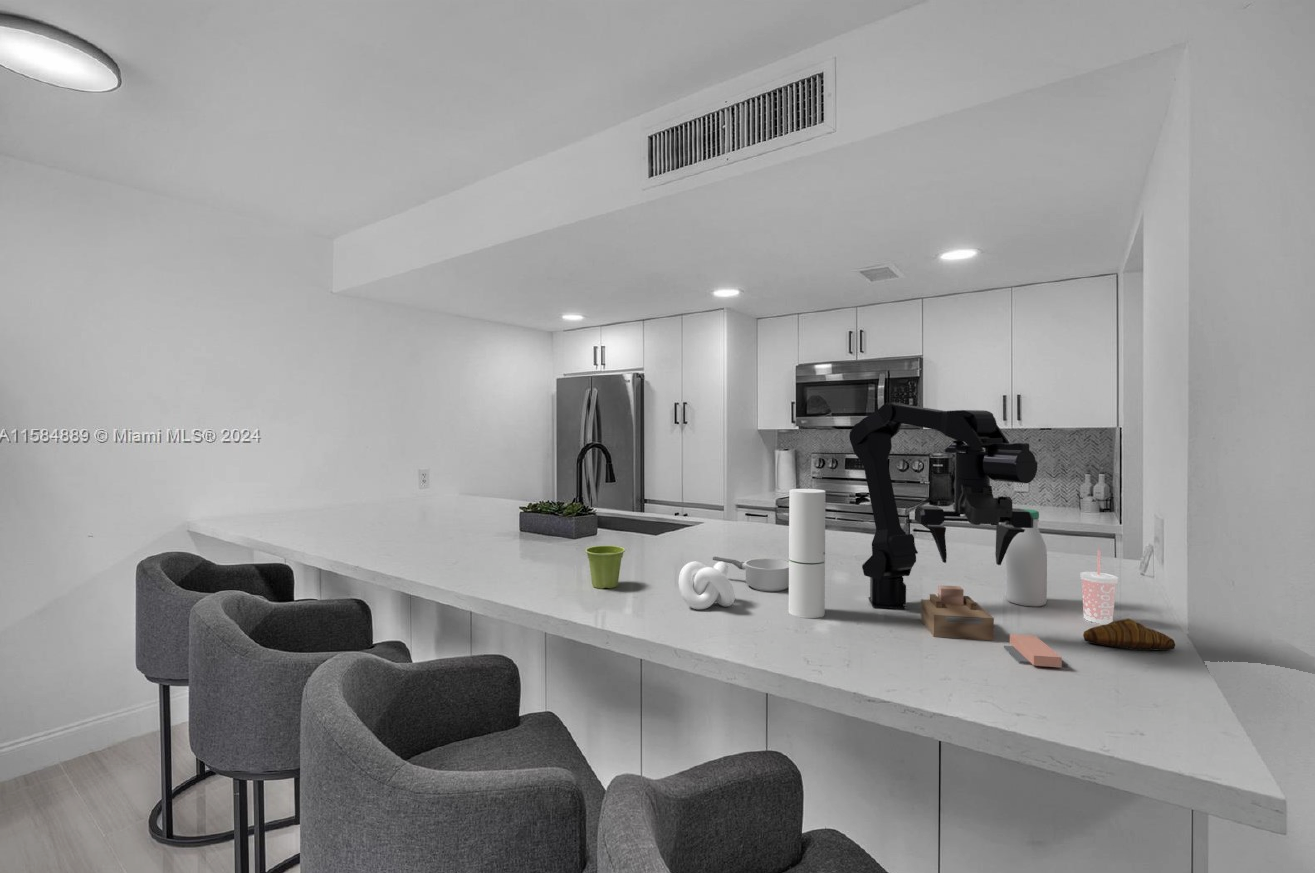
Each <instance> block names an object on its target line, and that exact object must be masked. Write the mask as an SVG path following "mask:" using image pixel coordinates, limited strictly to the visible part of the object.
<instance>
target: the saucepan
mask: <svg viewBox="0 0 1315 873" xmlns="http://www.w3.org/2000/svg"><path fill="white" fill-rule="evenodd" d="M712 560H713V561H716V562H720V561H723V562H725V563H726V564H732V565H734V566H735V567H736V568H737V569H739V570H745V584H746V585H747V586H750V587H751V588H752V589H754V590H758V591H761V592H762V591H763V592H780V591H785V590H786V589H789V560H788V561H787V560H785V559H779V558H778V559H777V558H764V557H761V558H760V557H759V558H751V559H748V560H745V561H739V560H737V559H732V558H726V557H725V558H724V557H719V556H713V557H712Z"/></svg>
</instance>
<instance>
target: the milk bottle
mask: <svg viewBox="0 0 1315 873" xmlns="http://www.w3.org/2000/svg"><path fill="white" fill-rule="evenodd" d="M1021 509H1022V510H1025V511H1028V512H1030V513H1031V514H1032V516H1033V528H1022V529H1025V531H1024V532H1020V533H1018V534H1017V535H1016V536H1015V537H1014V538H1013V539H1012V541H1011V543H1010V545H1009V547H1008V549H1007V551H1006V554H1005V572H1004V573H1005V576H1004V580H1005V582H1004V583H1005V584H1004V591H1005V594H1004V595H1005V596H1004V598H1005V600H1006V601H1007V602H1010V603H1011V604H1016V605H1018V606H1026V607H1044V606H1045V605H1046V603H1047V599H1048V598H1047V596H1048V594H1047V593H1048V589H1047V588H1048V579H1047V578H1048V577H1047V576H1048V553H1047V551H1048V550H1047V546H1046V543H1045V540H1044V538H1043V536H1042V534H1041V531H1040V528H1039V526H1038V522H1039V519H1040V513H1039V511H1038V510H1035V509H1030V508H1021Z"/></svg>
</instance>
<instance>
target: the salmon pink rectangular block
mask: <svg viewBox="0 0 1315 873" xmlns="http://www.w3.org/2000/svg"><path fill="white" fill-rule="evenodd" d="M1009 644H1010V646H1013V647H1014V648H1015V649H1016V650H1018V651H1019V652H1020V653H1021V654H1022V655H1023V656H1024V657H1025V658H1026V659H1027V660H1028V661H1029V662H1030V663H1032V664H1031V665H1033V666H1036V667H1051V668H1062V667H1063V666H1062V660H1063V658H1062V656H1060V654H1058V652H1056V651H1055V650H1054V649H1053V648H1051V647H1050V646H1049V645H1047V644H1046V643H1045V642H1043V641H1042V640H1041V639H1040V638H1039V637H1037V636H1036V635H1031V634H1027V635H1026V634H1014V633H1013V634H1012V633H1011V634H1010V633H1009Z"/></svg>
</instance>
